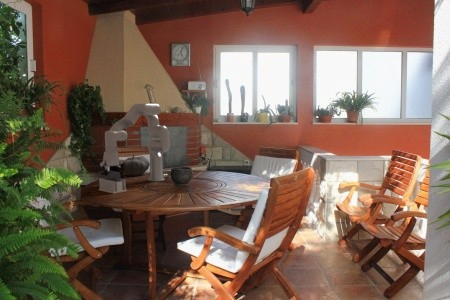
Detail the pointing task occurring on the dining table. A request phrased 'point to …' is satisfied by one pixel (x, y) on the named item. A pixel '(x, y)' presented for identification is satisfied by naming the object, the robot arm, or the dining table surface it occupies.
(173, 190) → the dining table surface
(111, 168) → the coffee jar
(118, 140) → the robot arm
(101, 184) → the stand
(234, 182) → the dining table surface
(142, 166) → the gourd
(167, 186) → the dining table surface
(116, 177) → the grey bracket
